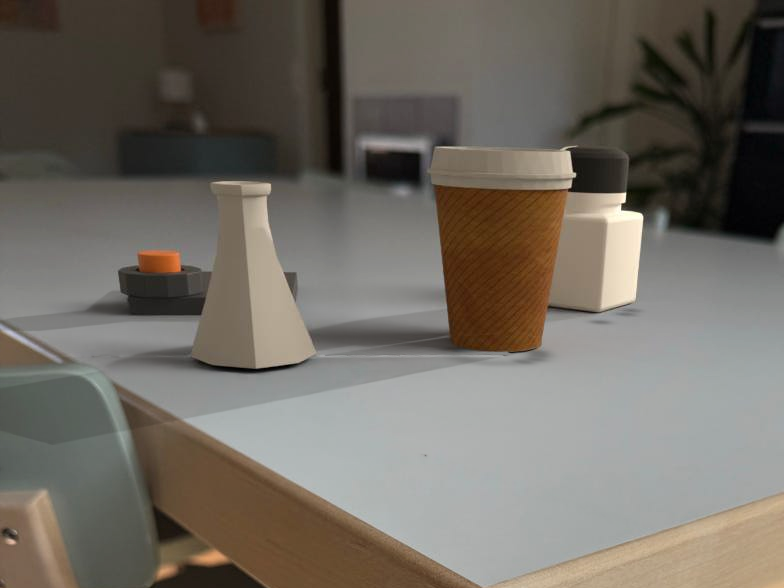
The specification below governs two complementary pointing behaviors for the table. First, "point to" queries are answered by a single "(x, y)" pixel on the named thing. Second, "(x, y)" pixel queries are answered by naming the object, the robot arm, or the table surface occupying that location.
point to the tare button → (159, 261)
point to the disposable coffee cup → (499, 240)
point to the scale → (173, 290)
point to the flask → (248, 289)
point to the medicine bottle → (597, 235)
